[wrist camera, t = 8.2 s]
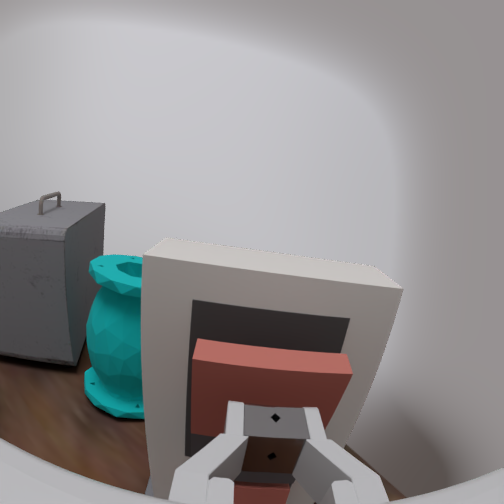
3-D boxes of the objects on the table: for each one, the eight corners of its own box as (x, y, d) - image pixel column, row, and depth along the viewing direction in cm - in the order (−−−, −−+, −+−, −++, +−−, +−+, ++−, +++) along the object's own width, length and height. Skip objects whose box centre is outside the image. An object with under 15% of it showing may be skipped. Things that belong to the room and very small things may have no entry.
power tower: (153, 476, 26) (148, 225, 20) (301, 492, 27) (383, 257, 21) (129, 565, 14) (40, 282, 8) (313, 580, 15) (494, 335, 9)
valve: (85, 248, 38) (263, 268, 56) (77, 361, 41) (239, 357, 58) (97, 287, 27) (320, 298, 44) (93, 425, 29) (285, 399, 47)
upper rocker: (193, 459, 16) (197, 338, 12) (291, 467, 16) (346, 353, 12) (191, 475, 15) (192, 358, 11) (293, 483, 15) (353, 373, 11)
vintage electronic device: (35, 290, 63) (34, 185, 57) (103, 296, 69) (106, 189, 63) (-20, 360, 34) (-42, 202, 28) (76, 376, 39) (65, 207, 34)
